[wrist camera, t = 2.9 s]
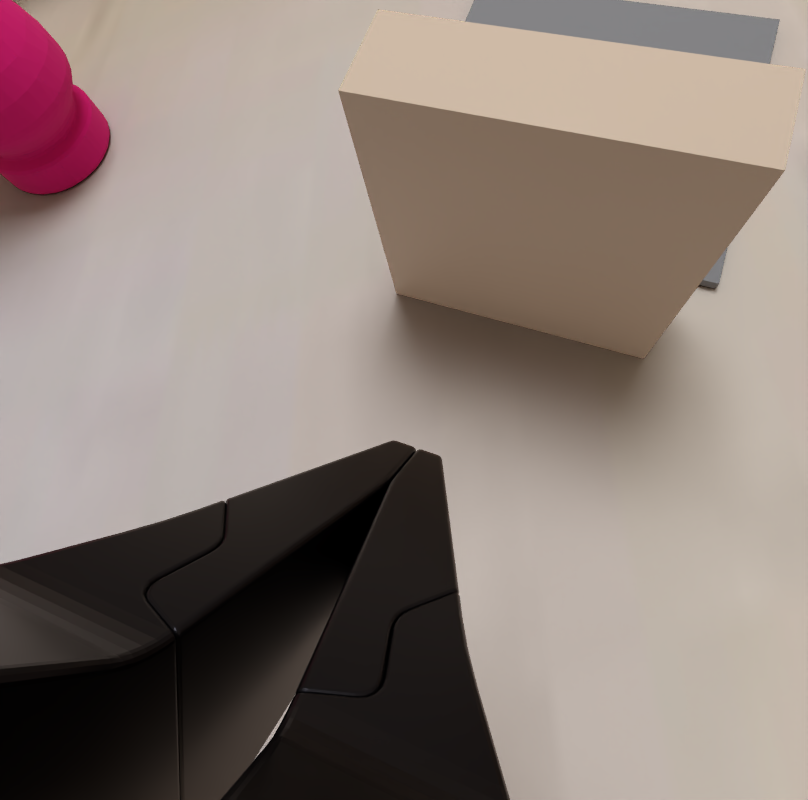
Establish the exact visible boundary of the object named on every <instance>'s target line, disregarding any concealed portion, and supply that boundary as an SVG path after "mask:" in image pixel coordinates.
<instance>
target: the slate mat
mask: <svg viewBox="0 0 808 800" xmlns="http://www.w3.org/2000/svg"><path fill="white" fill-rule="evenodd" d="M779 21H780V20H779V19H771V18H763V17H754V16H746V15H738V14H730V13H721V12H713V11H705V10H697V9H689V8H680V7H672V6H664V5H656V4H648V3H639V2H631V1H623V0H474V2H473V4H472V7H471V9H470V11H469V14H468V16H467V18H466V21H465V22H472V23H479V24H486V25H494V26H501V27H508V28H515V29H522V30H529V31H537V32H544V33H551V34H558V35H565V36H572V37H580V38H587V39H594V40H601V41H608V42H615V43H623V44H630V45H637V46H644V47H651V48H658V49H666V50H673V51H680V52H687V53H694V54H701V55H709V56H716V57H723V58H730V59H737V60H745V61H752V62H759V63H766V64H770V60H771V55H772V51H773V47H774V42H775V38H776V34H777V29H778V25H779ZM726 251H727V248H726V250H725V251H724V252H723V254H722V255H721V256H720V258H719V259H718V260H717V262H716V263H715V264H714V266H713V267H712V268H711V270H710V271H709V272H708V274H707V275H706V276H705V278H704V279H703V280H702V282H701V283H700V284H699V285H702V286H706V287H711V288H716V287H717V286H718V284H719V282H720V277H721V273H722V268H723V264H724V260H725V255H726Z"/></svg>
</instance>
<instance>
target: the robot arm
mask: <svg viewBox="0 0 808 800" xmlns="http://www.w3.org/2000/svg"><path fill="white" fill-rule="evenodd" d="M458 594H459V590H458V582H457V574H456V566H455V558H454V551H453V543H452V535H451V527H450V519H449V511H448V504H447V496H446V488H445V480H444V472H443V465H442V459H441V457H440V456H438V455H436V454H433V453H430V452H427V451H424V450H417V451H416V449H415V448H414V447H412V446H409V445H406V444H403V443H400V442H398V441H390V442H387V443H384V444H381V445H379V446H376V447H373V448H370V449H367V450H364V451H362V452H359V453H356V454H353V455H350V456H348V457H345V458H342V459H339V460H336V461H333V462H331V463H328V464H325V465H322V466H319V467H317V468H314V469H311V470H308V471H305V472H303V473H300V474H297V475H294V476H291V477H288V478H286V479H283V480H280V481H277V482H274V483H272V484H269V485H266V486H263V487H260V488H257V489H255V490H252V491H249V492H246V493H243V494H241V495H238V496H235V497H232V498H229V499H227V501H226V503H225V502H224V501H220V502H218V503H215V504H212V505H209V506H206V507H203V508H201V509H198V510H195V511H192V512H189V513H186V514H182V515H179V516H176V517H173V518H170V519H167V520H164V521H161V522H157V523H154V524H150V525H147V526H143V527H140V528H136V529H133V530H129V531H126V532H122V533H119V534H115V535H111V536H107V537H103V538H100V539H96V540H92V541H88V542H85V543H81V544H77V545H73V546H70V547H66V548H62V549H58V550H55V551H51V552H47V553H43V554H40V555H36V556H32V557H28V558H24V559H21V560H17V561H12V562H8V563H4V564H0V800H510V798H509V794H508V791H507V788H506V784H505V781H504V777H503V774H502V771H501V767H500V764H499V760H498V757H497V753H496V750H495V746H494V743H493V739H492V736H491V732H490V729H489V725H488V722H487V719H486V715H485V712H484V708H483V705H482V701H481V698H480V694H479V691H478V687H477V683H476V680H475V676H474V672H473V668H472V664H471V660H470V656H469V652H468V647H467V641H466V635H465V630H464V624H463V618H462V611H461V603H460V596H459V595H458ZM295 694H296V695H295ZM291 700H292V702H291ZM290 702H291V704H290V706H289V708H288V710H287V712H286V714H285V716H284V718H283V720H282V722H281V724H280V726H279V727H278V729H277V731H276V733H275V734H274V736H273V738H272V739H271V740H270V742H269V743H268V744H267V746H266V747H265V748H264V749H263V750H262V752H261V753H260V754H259V755H258V756H257V754H258V753H259V751H260V749H261V748H262V746H263V745H264V743H265V742H266V740H267V738H268V737H269V735H270V734H271V732H272V730H273V729H274V727H275V726H276V724H277V722H278V721H279V719H280V718H281V716H282V715H283V713H284V711H285V710H286V708H287V707H288V705H289V703H290ZM256 756H257V757H256ZM255 757H256V759H255ZM254 759H255V760H254Z"/></svg>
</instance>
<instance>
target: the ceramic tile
mask: <svg viewBox="0 0 808 800" xmlns="http://www.w3.org/2000/svg"><path fill="white" fill-rule="evenodd" d="M805 71H806V69H802V68H795V67H788V66H780V65H773V64H766V63H759V62H752V61H745V60H737V59H730V58H723V57H716V56H709V55H701V54H694V53H687V52H680V51H673V50H666V49H658V48H651V47H644V46H637V45H630V44H623V43H615V42H608V41H601V40H594V39H587V38H580V37H572V36H565V35H558V34H551V33H544V32H537V31H529V30H522V29H515V28H508V27H501V26H494V25H486V24H479V23H472V22H465V21H458V20H450V19H443V18H436V17H429V16H422V15H415V14H407V13H400V12H393V11H386V10H379V9H378V10H377V12H376V14H375V16H374V18H373V21H372V23H371V25H370V27H369V29H368V31H367V33H366V35H365V37H364V39H363V41H362V43H361V45H360V47H359V49H358V51H357V53H356V55H355V57H354V59H353V61H352V64H351V66H350V68H349V70H348V72H347V74H346V76H345V78H344V80H343V82H342V84H341V86H340V88H339V90H338V91H339V94H340V98H341V101H342V105H343V108H344V112H345V115H346V119H347V122H348V126H349V129H350V133H351V136H352V140H353V143H354V147H355V150H356V154H357V157H358V161H359V164H360V168H361V171H362V175H363V178H364V182H365V185H366V189H367V192H368V196H369V199H370V203H371V206H372V210H373V213H374V217H375V220H376V224H377V227H378V230H379V234H380V237H381V241H382V244H383V248H384V251H385V255H386V258H387V262H388V265H389V269H390V272H391V276H392V279H393V283H394V286H395V290H396V293H397V294H400V295H404V296H408V297H411V298H415V299H419V300H423V301H426V302H430V303H434V304H438V305H442V306H445V307H449V308H453V309H457V310H461V311H464V312H468V313H472V314H476V315H479V316H483V317H487V318H491V319H495V320H498V321H502V322H506V323H510V324H514V325H517V326H521V327H525V328H529V329H532V330H536V331H540V332H544V333H548V334H551V335H555V336H559V337H563V338H567V339H570V340H574V341H578V342H582V343H586V344H589V345H593V346H597V347H601V348H604V349H608V350H612V351H616V352H620V353H623V354H627V355H631V356H635V357H639V358H642V359H644V358H645V356H646V355H647V354H648V352H649V351H650V350H651V348H652V347H653V346H654V344H655V343H656V342H657V340H658V339H659V338H660V336H661V335H662V334H663V332H664V331H665V330H666V328H667V327H668V326H669V324H670V323H671V322H672V320H673V319H674V318H675V316H676V315H677V314H678V312H679V311H680V310H681V308H682V307H683V306H684V304H685V303H686V302H687V300H688V299H689V298H690V296H691V295H692V294H693V292H694V291H695V290H696V288H697V287H698V286H699V284H700V283H701V282H702V280H703V279H704V278H705V276H706V275H707V274H708V272H709V271H710V270H711V268H712V267H713V266H714V264H715V263H716V262H717V260H718V259H719V258H720V256H721V255H722V254H723V252H724V251H725V250H726V248H727V247H728V246H729V244H730V243H731V242H732V240H733V239H734V238H735V236H736V235H737V234H738V232H739V231H740V230H741V228H742V227H743V226H744V224H745V223H746V222H747V220H748V219H749V218H750V216H751V215H752V214H753V212H754V211H755V210H756V208H757V207H758V206H759V204H760V203H761V202H762V200H763V199H764V198H765V196H766V195H767V194H768V192H769V191H770V190H771V188H772V187H773V186H774V184H775V183H776V182H777V180H778V179H779V178H780V176H781V175H782V174H783V172H784V171H785V168H786V163H787V158H788V153H789V148H790V143H791V139H792V134H793V129H794V124H795V119H796V114H797V109H798V105H799V100H800V95H801V90H802V85H803V80H804V75H805Z"/></svg>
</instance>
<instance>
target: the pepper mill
mask: <svg viewBox="0 0 808 800" xmlns="http://www.w3.org/2000/svg"><path fill="white" fill-rule="evenodd" d="M109 136H110V131H109V127H108V123H107V121H106V119H105V117H104V115H103V114H102V113H101V112H100V111H99V109H98V108H97V107H96V106H95V104H94V103H93V102H92V101H91V100H90V98H89V97H88V96H87V95H86V93H85V92H84V91H83V90H81V89H80V88H79V87H77V86H76V85H73V83H72V73H71V68H70V65H69V62H68V60H67V57H66V55H65V53H64V52H63V50H62V49H61V47H60V46H59V44H58V43H57V42H56V41H55V40H54V39H53V38H52V37H51V35H50V34H49V33H48V32H47V31H46V30H45V29H44V28H43V27H42V25H41V24H40V23H39V22H38V21H37V20H35V19H34V18H33V17H32V16H31V15H29V14H28V13H27V12H26V11H25V10H23V9H22V8H21V7H20V6H19V5H18V4H16V3H15V2H13V1H12V0H0V174H1V175H3V176H4V177H5V178H6V179H7V180H9V181H10V182H11V183H12V184H13V185H14V186H16V187H17V188H19V189H20V190H23V191H25V192H28V193H33V194H50V193H57V192H61V191H63V190H66V189H68V188H71V187H73V186H74V185H76V184H78V183H79V182H81V181H82V180H84V179H85V178H86V177H87V176H89V175H90V174H91V173H92V172H93V171H94V170H95V169H96V168H97V166H98V165H99V163H100V162H101V160H102V159H103V157H104V155H105V153H106V150H107V148H108V143H109Z"/></svg>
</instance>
